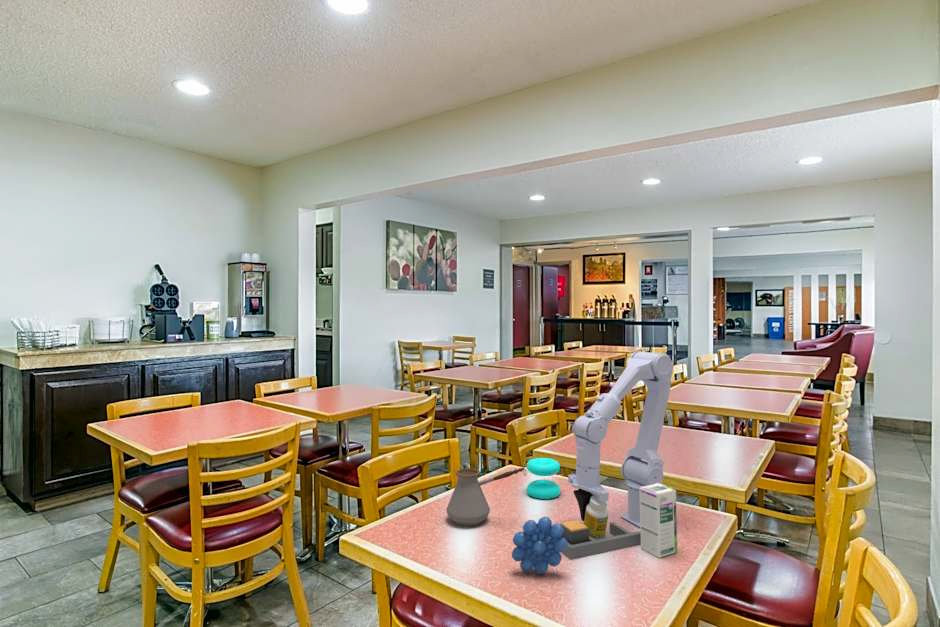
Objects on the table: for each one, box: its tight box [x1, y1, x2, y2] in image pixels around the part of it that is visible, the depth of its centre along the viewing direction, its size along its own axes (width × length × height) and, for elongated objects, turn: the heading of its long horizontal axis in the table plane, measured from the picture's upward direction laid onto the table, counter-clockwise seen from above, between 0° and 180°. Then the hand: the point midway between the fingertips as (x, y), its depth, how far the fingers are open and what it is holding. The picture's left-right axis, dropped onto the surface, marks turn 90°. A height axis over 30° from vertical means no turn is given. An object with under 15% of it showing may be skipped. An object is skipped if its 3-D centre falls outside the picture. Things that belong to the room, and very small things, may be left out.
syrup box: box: [639, 483, 678, 559], centre depth 119 cm, size 6×6×14 cm
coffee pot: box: [446, 467, 527, 527], centre depth 136 cm, size 21×12×15 cm, turn 74°
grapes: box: [511, 516, 568, 575], centre depth 110 cm, size 12×7×12 cm, turn 83°
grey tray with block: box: [560, 519, 641, 560], centre depth 123 cm, size 20×8×5 cm, turn 112°
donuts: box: [526, 457, 561, 500], centre depth 156 cm, size 10×10×10 cm
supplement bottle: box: [583, 495, 610, 540], centre depth 126 cm, size 5×5×10 cm
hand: (586, 520), depth 129 cm, fingers closed, pressing on supplement bottle
